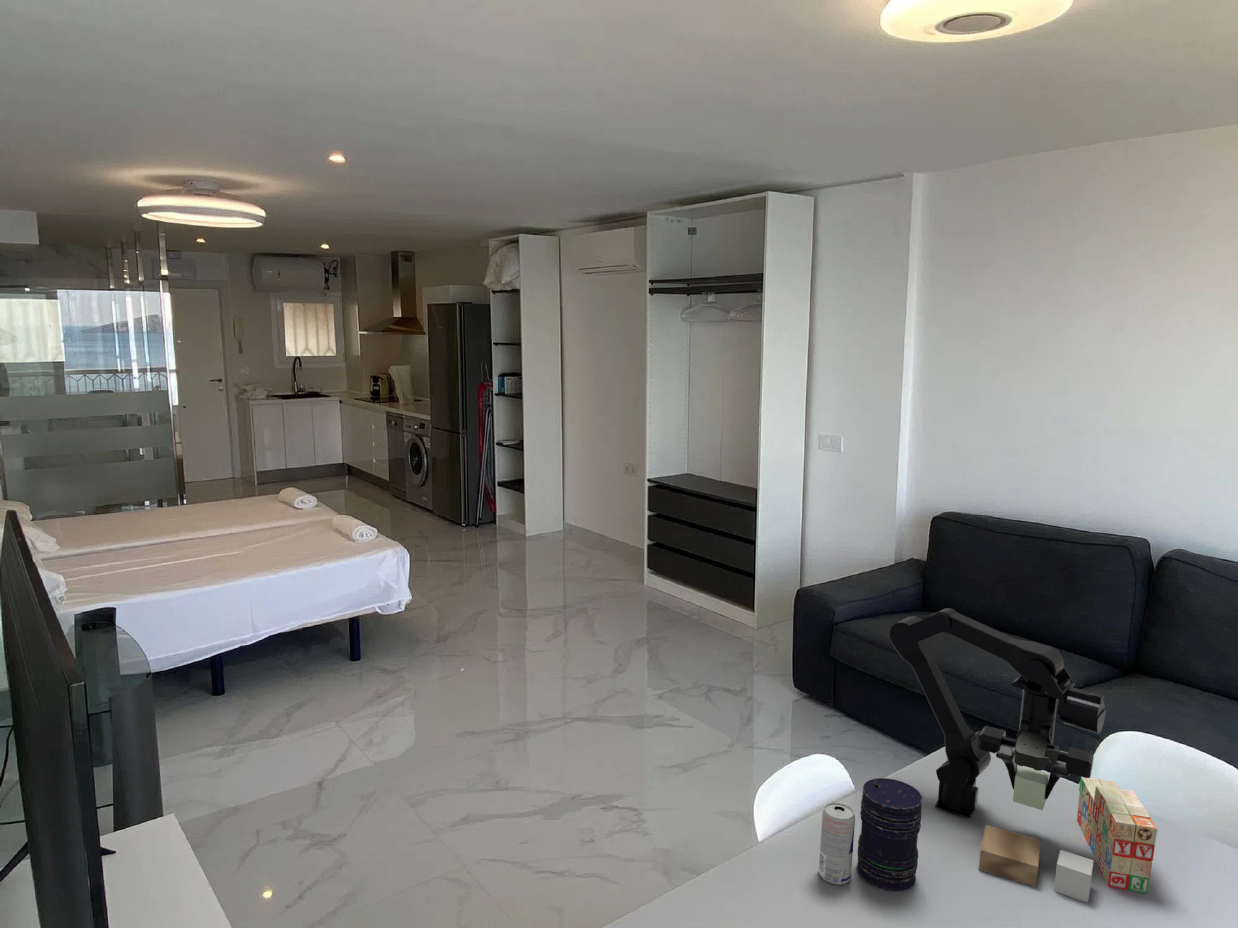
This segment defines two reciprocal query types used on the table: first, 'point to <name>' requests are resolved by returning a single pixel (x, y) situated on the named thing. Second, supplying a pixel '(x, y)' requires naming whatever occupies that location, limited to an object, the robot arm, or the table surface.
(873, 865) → the storage jar
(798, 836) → the table surface
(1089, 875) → the grey cube
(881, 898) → the table surface
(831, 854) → the energy drink
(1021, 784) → the sage cube
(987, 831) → the walnut block
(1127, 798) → the stack of blocks
